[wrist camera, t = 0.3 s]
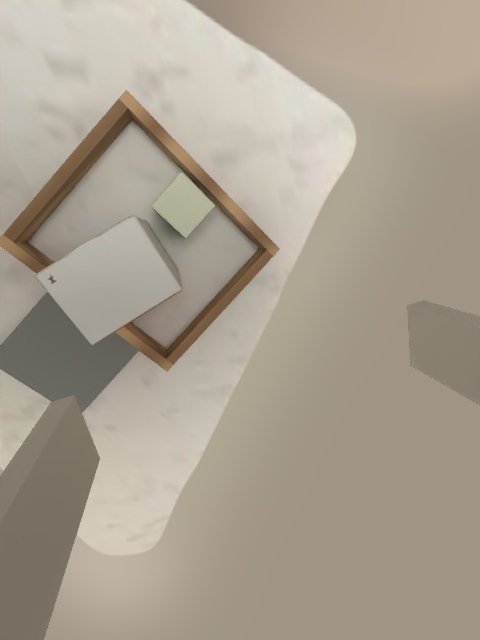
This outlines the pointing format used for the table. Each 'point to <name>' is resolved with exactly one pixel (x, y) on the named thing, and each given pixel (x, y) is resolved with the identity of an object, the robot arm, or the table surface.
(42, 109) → the table surface
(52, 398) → the mat
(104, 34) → the table surface
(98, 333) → the small box
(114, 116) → the bin
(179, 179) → the sage block
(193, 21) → the table surface
